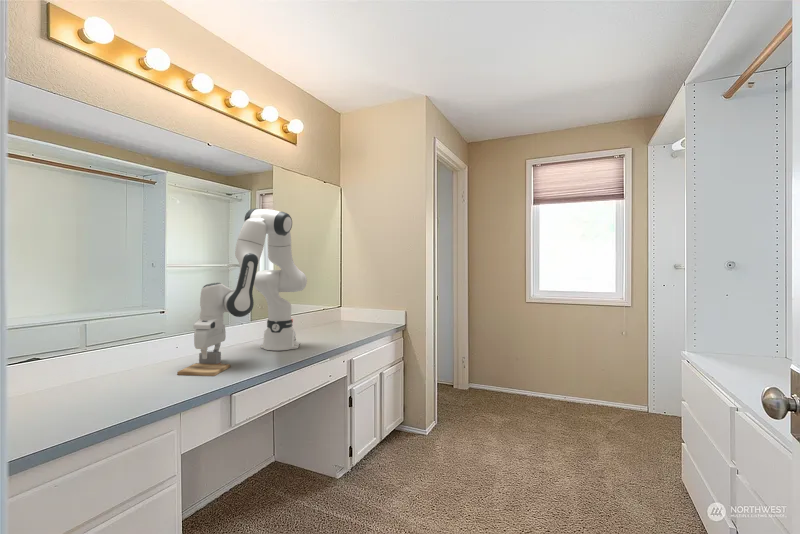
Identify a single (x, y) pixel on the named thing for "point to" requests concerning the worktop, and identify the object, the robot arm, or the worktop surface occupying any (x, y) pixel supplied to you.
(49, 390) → the worktop surface
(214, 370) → the board
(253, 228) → the robot arm
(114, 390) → the worktop surface
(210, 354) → the sanding block
